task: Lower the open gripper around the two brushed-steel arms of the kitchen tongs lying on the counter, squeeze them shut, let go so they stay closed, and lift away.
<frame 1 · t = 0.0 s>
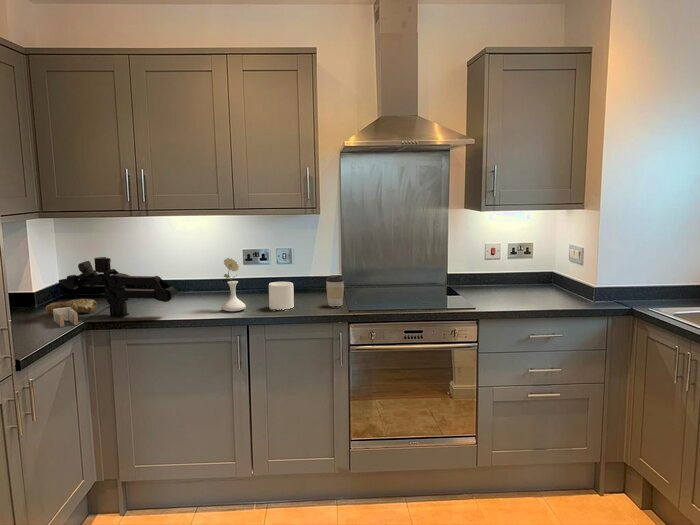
hand: (65, 279, 253), 17 cm above the worktop, tool horizontal, fingers open, 9 cm apart
coffee cup: (335, 306, 270), on the worktop
tongs pivot: (66, 322, 239), on the worktop
cup: (281, 308, 266), on the worktop
flower in vase: (232, 310, 262), on the worktop
tongs arm 2: (73, 316, 239), point 3 cm above the worktop, slide at 0.0 cm
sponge: (71, 314, 257), on the worktop
tongs arm 1: (59, 318, 236), point 3 cm above the worktop, slide at 0.0 cm
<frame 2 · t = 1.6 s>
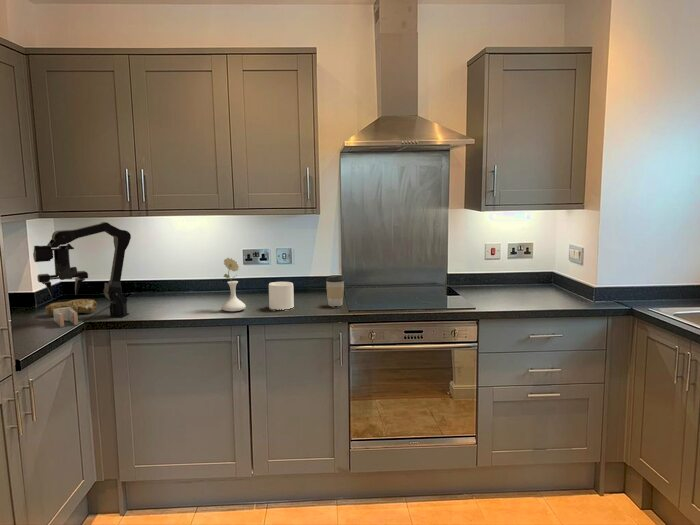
hand: (64, 296, 236), 12 cm above the worktop, tool pointing down, fingers open, 9 cm apart
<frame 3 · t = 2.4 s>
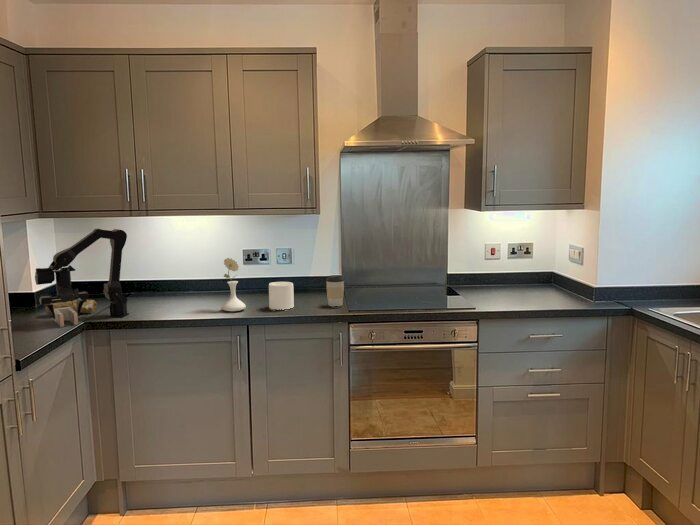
hand: (66, 317, 238), 3 cm above the worktop, tool pointing down, fingers open, 9 cm apart
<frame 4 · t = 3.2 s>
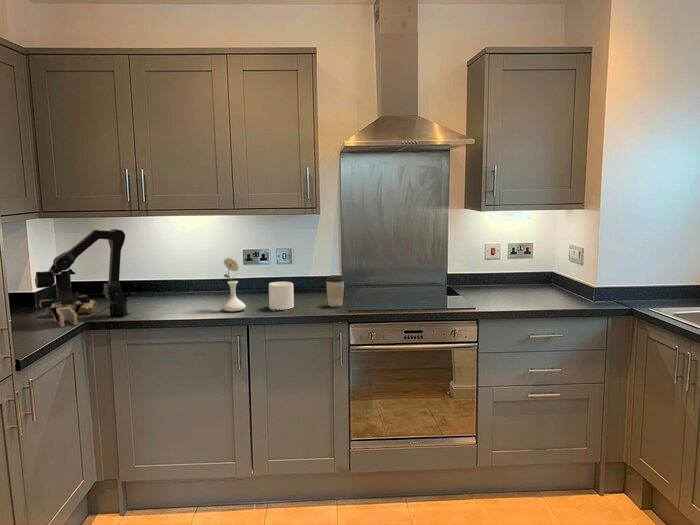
hand: (66, 320, 238), 1 cm above the worktop, tool pointing down, fingers open, 6 cm apart
tongs arm 2: (72, 316, 239), point 3 cm above the worktop, slide at 0.2 cm, touching gripper
tongs arm 1: (59, 318, 236), point 3 cm above the worktop, slide at 0.2 cm, touching gripper
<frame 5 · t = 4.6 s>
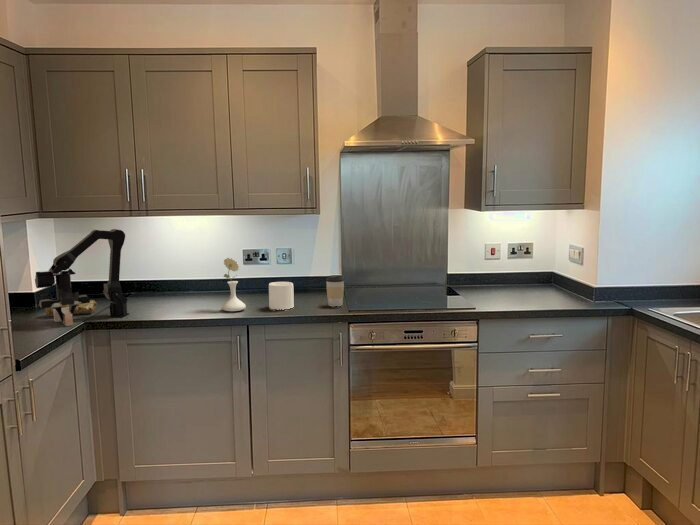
hand: (66, 320, 238), 1 cm above the worktop, tool pointing down, fingers open, 3 cm apart
tongs arm 2: (68, 317, 238), point 3 cm above the worktop, slide at 2.0 cm, touching gripper, tongs arm 1
tongs arm 1: (64, 317, 237), point 3 cm above the worktop, slide at 2.0 cm, touching gripper, tongs arm 2
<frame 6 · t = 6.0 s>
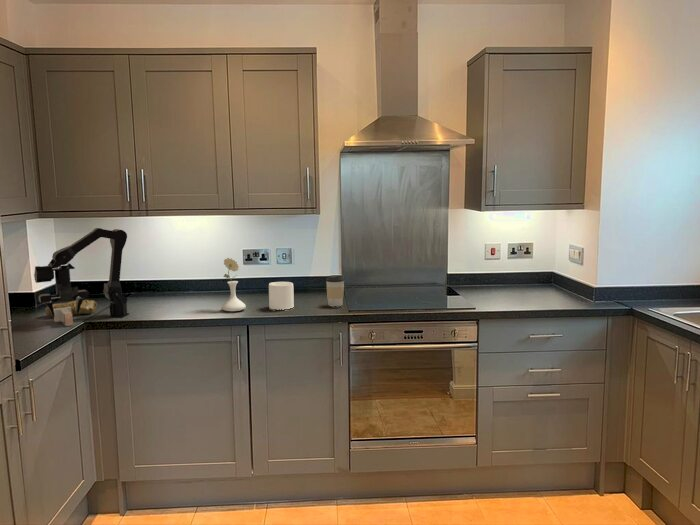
hand: (65, 315, 237), 4 cm above the worktop, tool pointing down, fingers open, 9 cm apart
tongs arm 2: (68, 317, 238), point 3 cm above the worktop, slide at 2.0 cm, touching tongs arm 1
tongs arm 1: (64, 317, 237), point 3 cm above the worktop, slide at 2.0 cm, touching tongs arm 2
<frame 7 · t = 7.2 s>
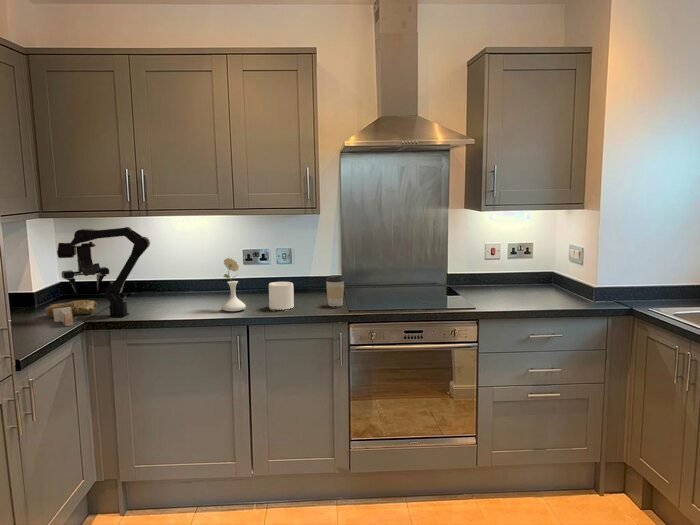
hand: (87, 291, 247), 12 cm above the worktop, tool pointing down, fingers open, 9 cm apart
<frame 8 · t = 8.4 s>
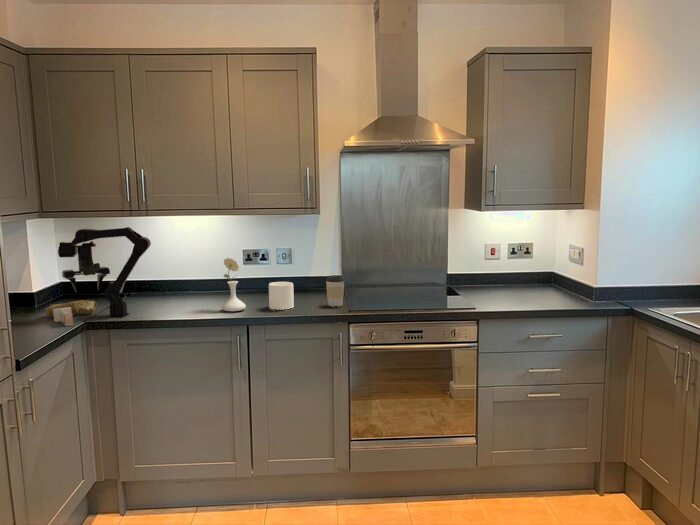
hand: (87, 291, 248), 12 cm above the worktop, tool pointing down, fingers open, 9 cm apart
at the end: tongs arm 1 slide at 2.0 cm; tongs arm 2 slide at 2.0 cm; the gripper is holding nothing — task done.
